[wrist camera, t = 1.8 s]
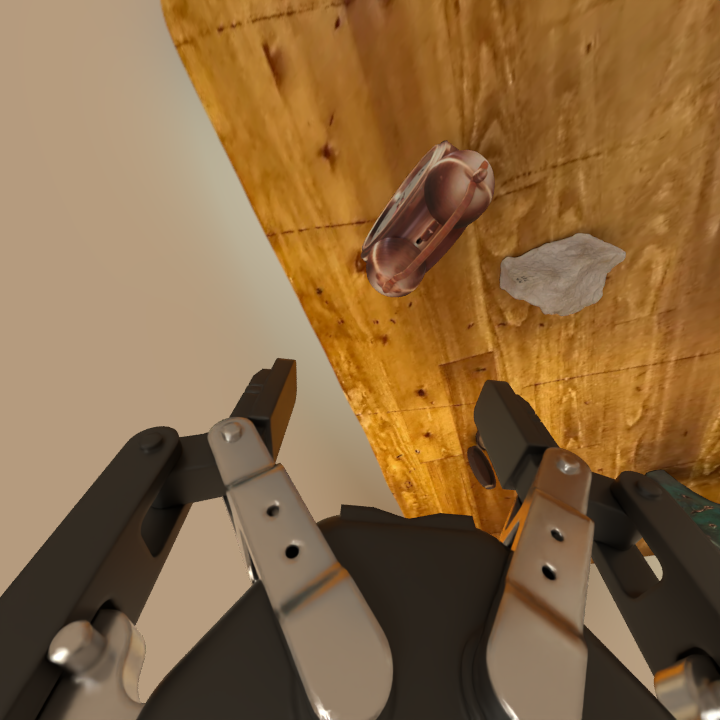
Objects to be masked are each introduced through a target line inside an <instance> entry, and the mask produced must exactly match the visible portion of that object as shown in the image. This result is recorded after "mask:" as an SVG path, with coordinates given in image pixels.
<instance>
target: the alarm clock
mask: <svg viewBox="0 0 720 720" xmlns="http://www.w3.org/2000/svg"><path fill="white" fill-rule="evenodd" d="M494 186H495V180H494V175H493V170H492V168H491V166H490V164H489V162H488V161H487V160H486V159H485V158H484V157H483V156H482V155H480V154H479V153H477V152H475V151H471V150H461V151H459V150H458V149H457V148H456V147H454V146H453V145H452V144H451V143H449V142H448V141H447V140H446V141H443V142H442V143H441V144H437V145H435V146H434V147H432V148H431V149H430V150H429V151H428V152H427V153H426V155H425V156H424V157H423V158H422V159H421V160H420V161H419V163H418V164H417V165H416V166H415V168H414V169H413V170H412V171H411V173H410V174H409V175H408V176H407V178H406V179H405V180H404V182H403V183H402V184H401V186H400V187H399V189H398V190H397V191H396V193H395V194H394V195H393V197H392V198H391V200H390V201H389V203H388V204H387V205H386V207H385V208H384V210H383V211H382V213H381V214H380V216H379V218H378V219H377V221H376V222H375V224H374V225H373V227H372V229H371V230H370V232H369V234H368V236H367V238H366V239H365V241H364V244H363V246H362V254H361V258H362V259H363V260H364V261H365V262H366V263H367V265H366V272H367V277H368V280H369V282H370V284H371V285H372V287H374V288H375V289H376V290H377V291H378V292H379V293H381V294H383V295H386V296H389V297H402V296H406V295H408V294H409V293H411V292H412V291H413V290H415V289H416V287H417V286H418V285H419V284H420V282H421V281H422V279H423V277H424V274H425V273H426V272H427V271H428V270H429V269H430V268H431V267H433V266H434V265H435V264H436V263H437V262H438V261H439V260H440V259H441V258H442V256H443V255H444V254H445V253H446V252H447V251H448V250H449V249H450V248H451V246H452V245H453V244H454V243H455V242H456V240H457V239H458V238H459V237H460V235H461V234H462V233H463V231H464V230H465V229H466V227H467V226H468V225H469V224H471V223H472V222H474V221H475V220H476V219H478V218H479V217H480V215H481V214H482V213H483V212H484V211H485V210H486V209H487V207H488V205H489V204H490V202H491V200H492V197H493V194H494Z"/></svg>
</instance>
